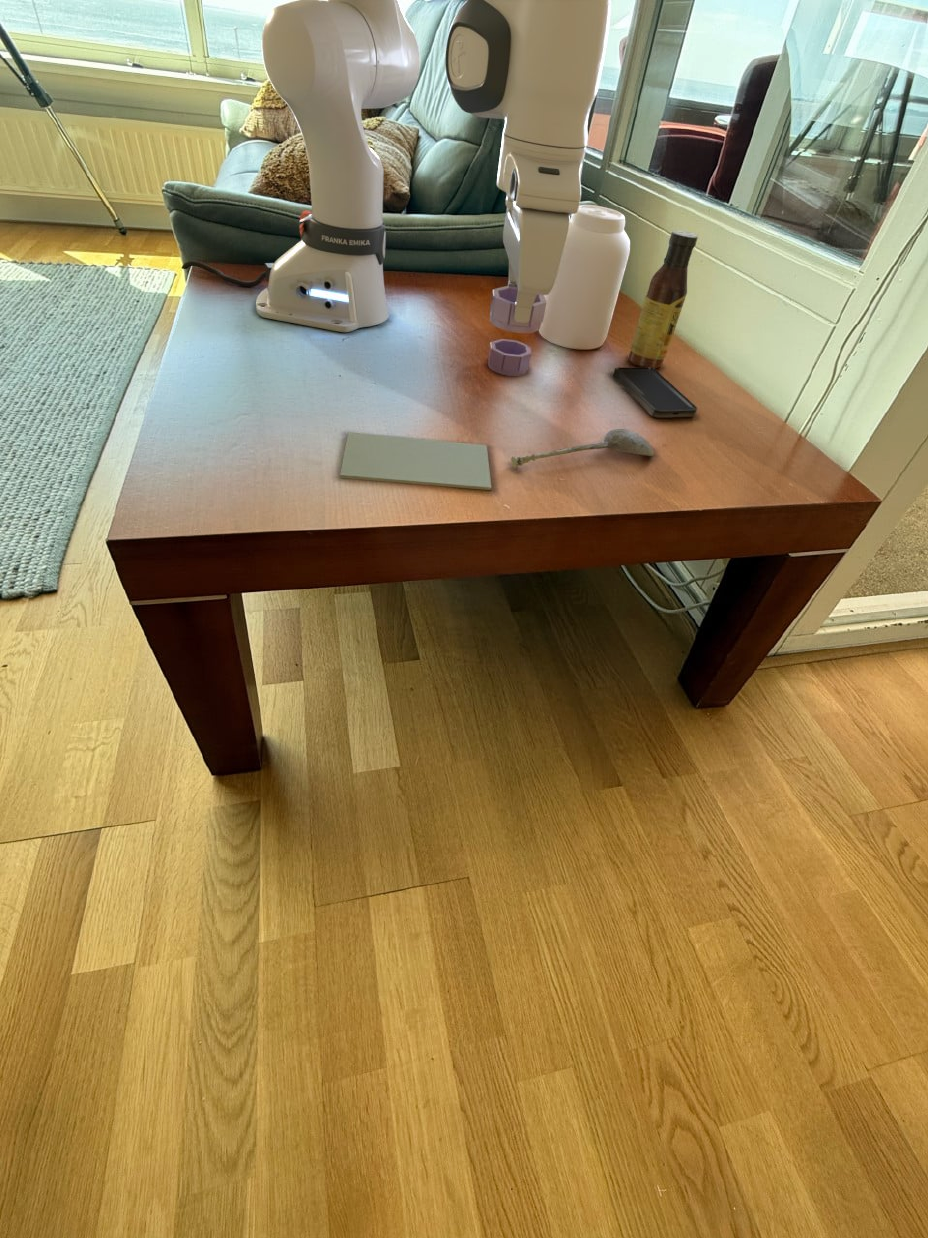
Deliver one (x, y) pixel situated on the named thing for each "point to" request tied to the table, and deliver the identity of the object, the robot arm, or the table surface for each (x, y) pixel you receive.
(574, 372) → the table surface
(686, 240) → the sauce bottle
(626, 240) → the white pill bottle
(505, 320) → the dish right
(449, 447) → the mat
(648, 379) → the phone
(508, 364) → the dish left
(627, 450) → the soupspoon
